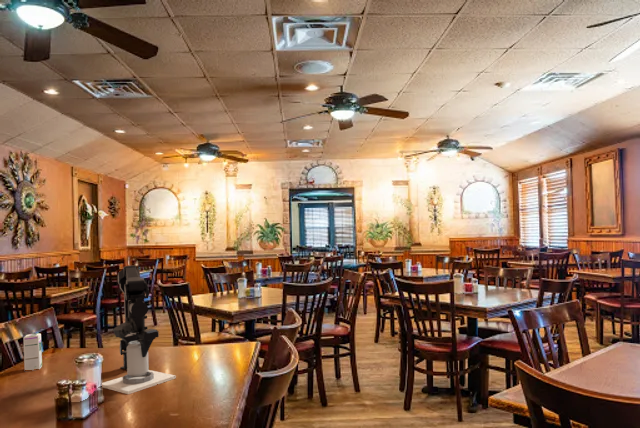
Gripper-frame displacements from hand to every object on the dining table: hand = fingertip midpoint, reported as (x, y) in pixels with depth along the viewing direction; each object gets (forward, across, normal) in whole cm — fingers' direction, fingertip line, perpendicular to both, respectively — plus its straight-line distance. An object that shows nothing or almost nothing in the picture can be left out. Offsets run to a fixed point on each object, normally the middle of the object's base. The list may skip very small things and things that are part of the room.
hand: (137, 355), depth 177 cm
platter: (+10, 0, 0) cm, 10 cm away
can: (+7, 0, 0) cm, 7 cm away
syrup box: (+10, -60, -10) cm, 62 cm away
